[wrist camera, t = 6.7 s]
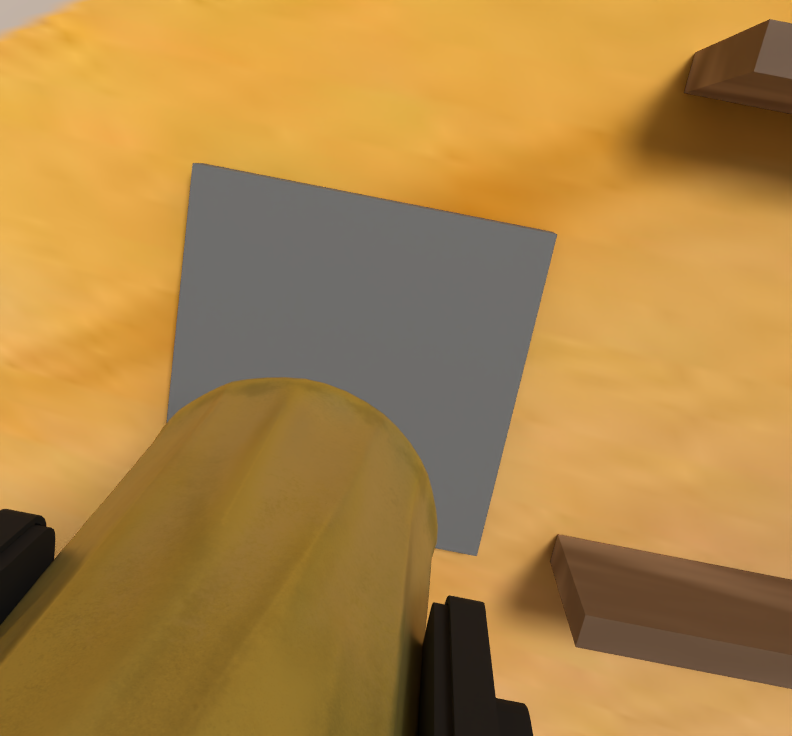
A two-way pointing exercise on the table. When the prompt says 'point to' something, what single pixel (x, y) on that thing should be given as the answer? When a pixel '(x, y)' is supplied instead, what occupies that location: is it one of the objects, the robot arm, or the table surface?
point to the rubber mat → (366, 316)
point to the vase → (238, 581)
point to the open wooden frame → (670, 576)
